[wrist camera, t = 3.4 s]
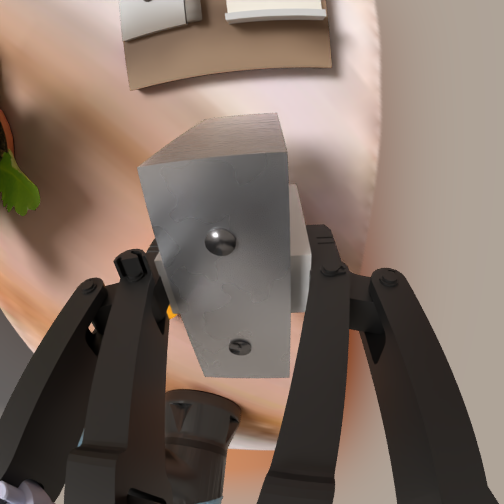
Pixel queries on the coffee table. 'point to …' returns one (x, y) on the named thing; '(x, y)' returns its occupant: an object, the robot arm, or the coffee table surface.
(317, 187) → the coffee table surface
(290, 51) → the hinge board
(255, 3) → the leaf seat
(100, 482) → the robot arm
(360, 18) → the coffee table surface
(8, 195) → the potted flower
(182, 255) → the leaf block
